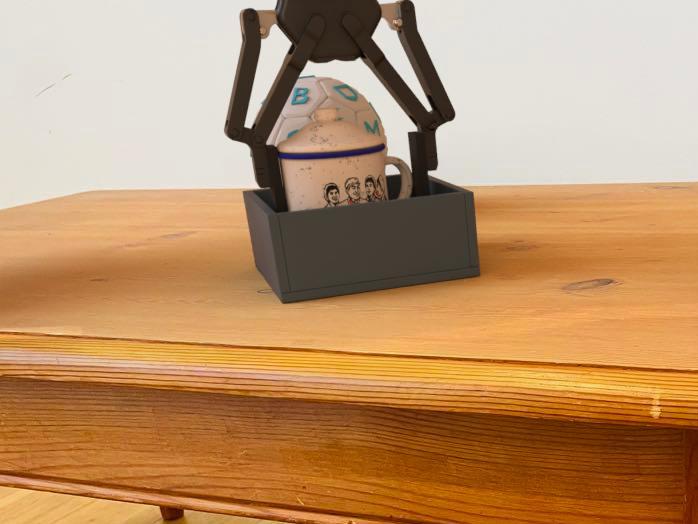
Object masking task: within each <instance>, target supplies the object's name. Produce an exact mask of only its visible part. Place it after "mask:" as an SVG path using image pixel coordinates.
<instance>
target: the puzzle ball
mask: <svg viewBox="0 0 698 524" xmlns="http://www.w3.org/2000/svg"><path fill="white" fill-rule="evenodd" d="M264 101H265V99H263V100H262V101H261V103H260V105H261V106H260V107H259V108H258V110H257V112H256V113H255V117H254V119H253V121H252V124H253V123H254V121H255V119H256V117H257V115H258V113H259V111H260V109H261V107H262V105H263V103H264ZM329 107H333V108H336V109H337V110H338V115H339V117H338V120H340V121H347V122H350V123H352V124H354V125H355V126H357V127H358V128H360V129H362V130H363V131H366V132H368V133H372V134H376V135H379V136H380V137H381V138H382V139H383V143H384V144H385V149H384V150H383V155H384V156H388V151H389V147H388V138H387V135H386V134H385V133H386V132H385V128H384V126H383V124H382V123H383V122H382V120H381V117H380V115H379V114H378V112H377V111H376V109H375V108H374V106H373V104H372V103H371V101H368V99H367V98H366V97H365V95H363V94H362V93H360V92H359V91H358V89H356V88H354V87H353V86H350V84H347V83H345V82H343V81H341V80H339V79H336V78H333V77H330V76H316V75H314V74H312V75H303V76H299V78H298V80H297V82H296V84H295V86H294V88H293V90H292V92H291V94H290V96H289V98H288V100H287V102H286V104H285V106H284V108H283V110H282V112H281V114H280V116H279V118H278V120H277V122H276V124H275V126H274V128H273V130H272V132H271V134H270V136H269V138H268V140H267V142H266V144H267V145H271V144H272V145H274V146H276V147H277V144H278V143H279V142H281V141H284V140H286V139H288V138H290V137H292V136H293V135H295V134H296V133H297V132H298V131H299V130H300V129H301V128H302V127H303V126H305V125H307V124H309V123H313V122H317V121H316V120H315V119H314V111H315V109H318V108H329ZM249 157H251V151H250V150H249ZM251 158H252V157H251ZM279 165H280V163H279ZM386 167H387V165H385V170H386ZM280 171H281V169H280ZM281 178H282V176H281ZM282 184H283V183H282ZM263 189H265V188H263Z"/></svg>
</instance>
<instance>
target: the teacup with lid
mask: <svg viewBox="0 0 698 524" xmlns="http://www.w3.org/2000/svg"><path fill="white" fill-rule="evenodd" d="M338 117H339V115H338V110H337V109H336V108H333V107H329V108H318V109H315V111H314V119H315V120H316V121H317V122H313V123H309V124H307V125H305V126H303V127H302V128H301V129H300V130H299V131H298V132H297V133H296V134H295V135H293V136H292V137H290V138H288V139H286V140H284V141H281V142H279V143H278V144H277V152H278V158H279V163H280V169H281V176H282V183H283V189H284V196H285V203H286V209H287V212H290V211H299V210H308V209H316V208H325V207H334V206H342V205H351V204H360V203H368V202H377V201H386V200H388V192H387V183H386V175H387V174H386V169H385V165H386V166H390V165H392V166H394V167H395V168H396V169H397V170H398V171H399V174H400V175H401V190H400V194H399V197H398V199H403V198H410V197H411V194H412V188H413V179H412V170H411V167H410V166H409V165H408V164H407V163H406V162H405V160H403V159H402V158H400V157H397V156H392V155H387V156H384V155H383V150H384V149H385V144H384V143H383V139H382V138H381V137H380V136H379V135H376V134H372V133H368V132H366V131H363V130H362V129H360V128H358V127H357V126H355V125H354V124H352V123H350V122H347V121H340V120H338Z"/></svg>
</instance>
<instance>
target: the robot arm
mask: <svg viewBox="0 0 698 524" xmlns="http://www.w3.org/2000/svg"><path fill="white" fill-rule="evenodd" d="M416 13H417V12H416V6H415V4H414V2H413V1H412V0H396V1H395V2H387V3H380V2H379V1H378V0H276V5H275V7H274V9H254V8H252V7H247V8H244V9H242V10H241V11H240V12H239V17H238V18H239V25H240V33H241V40H242V41H241V46H240V51H239V55H238V60H237V64H236V68H235V69H236V70H235V75H234V79H233V84H232V89H231V94H230V97H229V98H230V99H229V104H228V106H227V107H228V108H227V113H226V118H225V122H224V127H223V132H224V136H226V137H227V138H228V139H229V140H231V141H234V142H238V143H242V144H245V145H247V146H248V148H249V152H250V151H251V163H252V167H253V175H254V180H255V183H256V184H257V186H258V187H259V189H264V188H270V193H271V199H272V205H273V211H274V212H275V213H282V212H287V210H286V204H285V197H284V191H283V184H282V178H281V171H280V165H279V158H278V152H277V147H276V146H274V145H272V144H271V145H267V144H266V142H267V140H268V138H269V136H270V134H271V132H272V130H273V128H274V126H275V124H276V122H277V120H278V118H279V116H280V114H281V112H282V110H283V108H284V106H285V104H286V102H287V100H288V98H289V96H290V94H291V92H292V90H293V88H294V86H295V84H296V82H297V80H298V78H299V77H301V76H300V75H301V74H302V73H303V72H304V69H305V68H306V66H307V64H308V62H310V63H313V64H328V63H331V62H333V61H340V62H356V61H357V60H358V59H360V60H361V62H362V63H363V64H364V65H365V66H366V67H368V69H369V70H370V71H371V72H372V73H373V75H374V76H375V77H376V79H377V80H378V81H379V82H380V84H382V86H383V87H384V88H385V90H386V91H387V92H388V94H390V96H391V97H392V99H393V100H394V101H395V102H396V104H397V105H398V106H399V107H400V109H401V110H402V111H403V113H405V115H406V116H407V117H408V118H409V120H410V121H411V122H412V124H413V125H414V126H415V127H416V130H414V131H413V130H412V131H407V140H408V150H409V159H410V170H411V173H412V179H413V189H414V197H420V196H429V195H430V189H429V178H428V175H429V172H433V171H437V170H438V167H439V157H438V148H437V136H436V135H437V134H436V133H437V131H438V129H439V127H441V126H443V125H444V124H447V123H450V122H453V120H455V118H456V110H455V109H454V106H453V104H452V101H451V99H450V97H449V94H448V93H447V91H446V89H445V86H444V85H443V81H442V80H441V77H440V75H439V74H438V71H437V69H436V67H435V64H434V62H433V60H432V58H431V56H430V54H429V51H428V49H427V47H426V44H425V43H424V41H423V38H422V35H421V34H420V32H419V30H418V21H417V14H416ZM382 19H383V20H385V21H386V23H387V25H388V27H389V29H390V30H391V31H393V32H396V34H397V38H398V40H399V42H400V44H401V47H402V49H403V51H404V54H405V56H406V57H407V59H408V62H409V64H410V66H411V68H412V70H413V72H414V74H415V77H416V79H417V81H418V83H419V85H420V87H421V89H422V91H423V93H424V95H425V96H424V97H425V98H426V100H427V102H428V104H429V106H430V108H431V110H428V109H427V107H425V105H424V104H423V103H422V102H421V101H420V99H419V98H418V97H417V95H416V94H415V93H414V92H413V90H412V89H411V88H410V87H409V85H408V84H407V83H406V81H405V80H404V79H403V78H402V76H401V75H400V73H398V71H397V70H396V69H395V67H394V66H393V65H392V64H391V62H390V61H389V60H388V58H387V57H386V55H385V53H384V51H383V50H382V49H381V48H380V47H379V45H378V44H377V43H376V41H375V40H374V38H373V36H374V34H375V32H376V30H377V28H378V26H379V24H380V23H381V20H382ZM274 25H276V27H278V29H279V30H280V31H281V32H282V34H283V35H284V36H285V37H286V38H287V39H288V40H289V42H290V43H291V44H290V46H289V47H288V50H287V52H286V55H285V57H284V58H283V61H282V63H281V66H280V68H279V70H278V73H277V74H276V77H275V78H274V80H273V82H272V85H271V87H270V89H269V90H268V93H267V95H266V97H265V98H264V100H265V101H264V103H263V105H262V104H261V106H262V107H261V106H260V107H261V109H260V111H259V113H258V115H257V117H256V116H255V117H256V119H255V121H254V120H253V121H254V123H253V122H252V125H251V127H246V126H245V125H246V121H247V115H248V111H249V107H250V101H251V97H252V92H253V88H254V84H255V79H256V73H257V68H258V64H259V60H260V54H261V49H262V40H267V38H268V37H269V36H270V33H271V32H270V31H271V28H272V26H274Z"/></svg>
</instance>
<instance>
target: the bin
mask: <svg viewBox="0 0 698 524" xmlns="http://www.w3.org/2000/svg"><path fill="white" fill-rule="evenodd" d="M428 178H429V189H430V195H429V196H420V197H414V189H413V188H412V194H411V197H410V198H403V199H398V197H399V194H400V190H401V175H400V173H395V174H386V183H387V192H388V200H386V201H377V202H368V203H360V204H351V205H342V206H334V207H325V208H316V209H308V210H299V211H290V212H282V213H275V212H274V211H273V205H272V199H271V193H270V188H265V189H264V188H257V189H249V190H248V189H247V190H242V196H243V203H244V209H245V214H246V220H247V226H248V233H249V237H250V242H251V248H252V254H253V258H254V259H253V260H254V265H255V268H256V269H257V271H258V273H259V274H260V275H261V276H262V277H263V279H264V280H265V282H266V283H267V285H269V287H270V289H271V290H272V292H273V293H274V294H275V295H276V296H277V298H278V299H279V301H280V302H281V303H282V304H289V303H295V302H303V301H309V300H316V299H317V300H318V299H325V298H331V297H338V296H345V295H353V294H359V293H367V292H374V291H381V290H388V289H396V288H403V287H409V286H417V285H418V286H419V285H425V284H430V283H431V284H433V283H438V282H447V281H452V280H453V281H454V280H460V279H466V278H467V279H468V278H474V277H480V276H481V267H480V255H479V252H480V251H479V242H478V230H477V218H476V208H475V195H474V194H475V193H474V191H471V190H469V189H467V188H464V187H462V186H458V185H456V184H454V183H451V182H448V181H446V180H444V179H440V178H438V177H435V176H432V175H430V174H428ZM283 191H284V189H283ZM284 197H285V196H284ZM285 204H286V203H285ZM286 210H287V209H286Z"/></svg>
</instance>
